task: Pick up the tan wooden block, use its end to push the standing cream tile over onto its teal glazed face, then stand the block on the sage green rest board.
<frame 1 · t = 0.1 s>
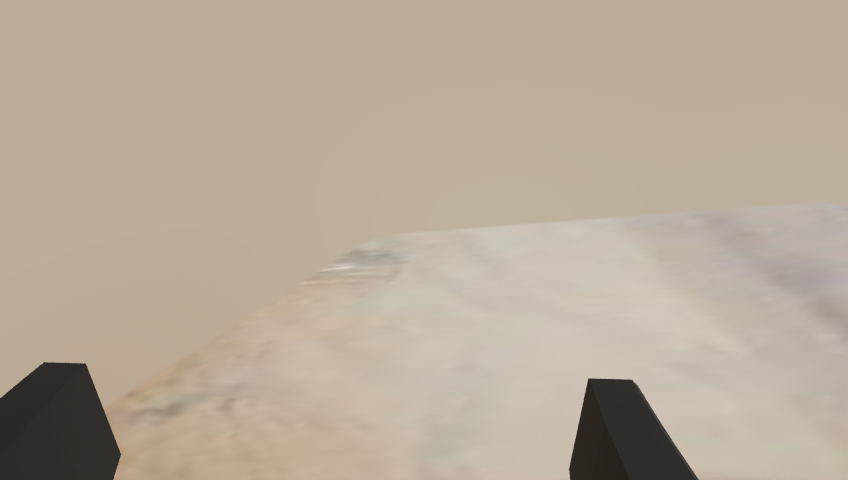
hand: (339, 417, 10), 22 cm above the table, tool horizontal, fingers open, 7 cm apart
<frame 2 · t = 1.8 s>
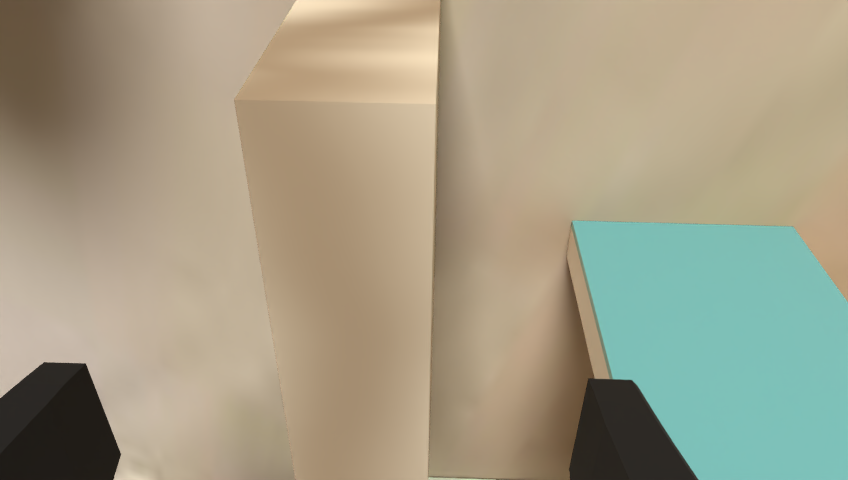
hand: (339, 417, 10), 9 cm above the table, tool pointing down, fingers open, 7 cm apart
tile: (677, 241, 19), on the table
tan wooden block: (388, 136, 18), on the table
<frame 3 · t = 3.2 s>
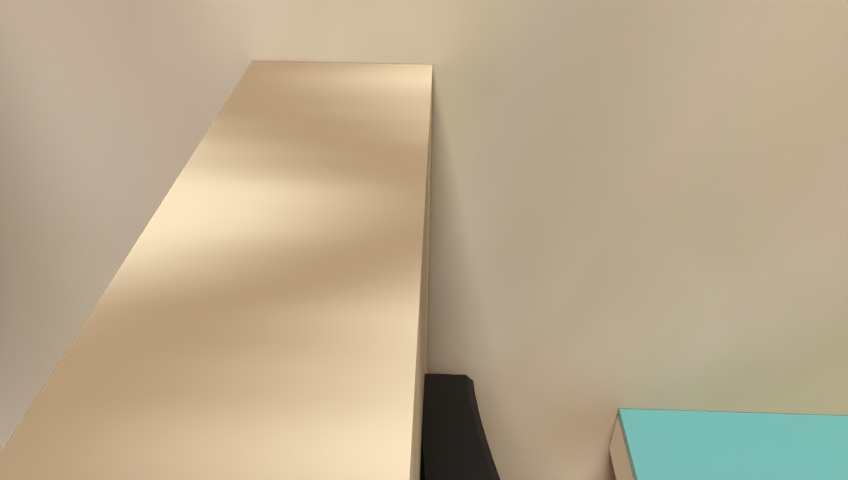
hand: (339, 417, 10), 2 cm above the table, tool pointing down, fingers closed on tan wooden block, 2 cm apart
tile: (765, 433, 14), on the table
tan wooden block: (357, 309, 12), on the table, touching gripper
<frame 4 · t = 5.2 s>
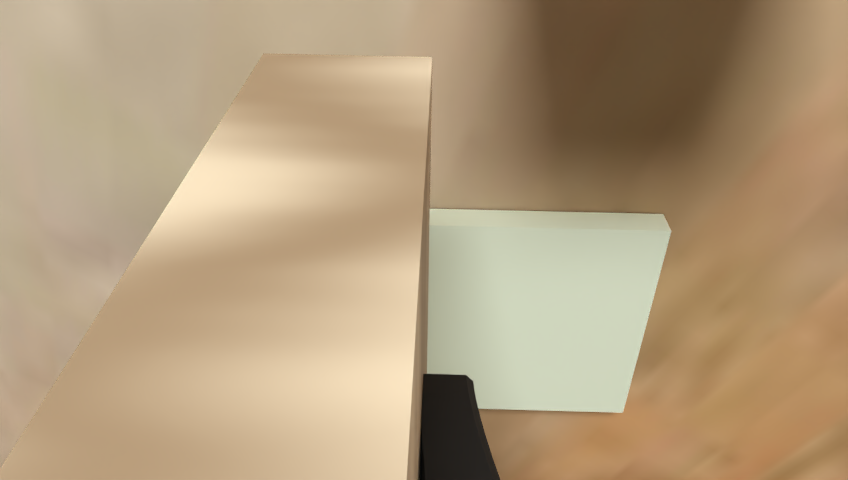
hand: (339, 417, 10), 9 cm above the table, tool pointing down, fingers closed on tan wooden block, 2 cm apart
rest board: (436, 307, 20), on the table
tan wooden block: (360, 291, 13), point 6 cm above the table, touching gripper
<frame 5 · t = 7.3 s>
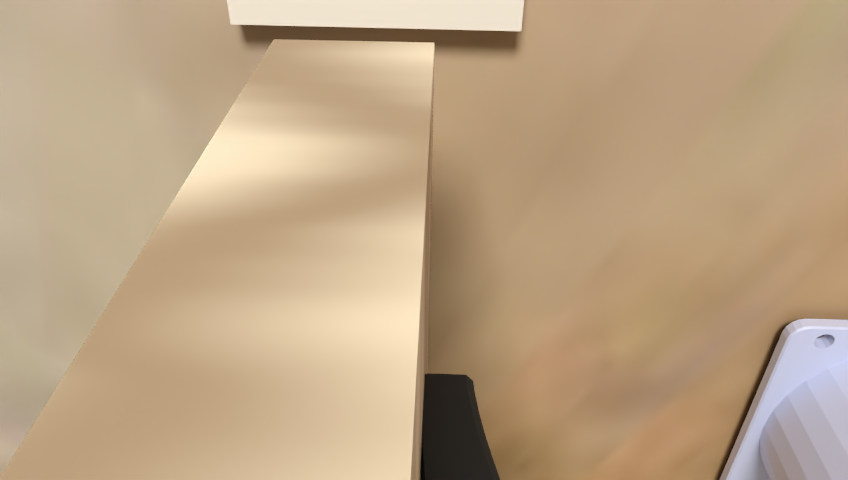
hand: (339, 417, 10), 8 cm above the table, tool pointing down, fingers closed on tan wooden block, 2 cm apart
tile: (377, 18, 15), on the table, tilted 90°
tan wooden block: (365, 270, 13), point 4 cm above the table, touching gripper
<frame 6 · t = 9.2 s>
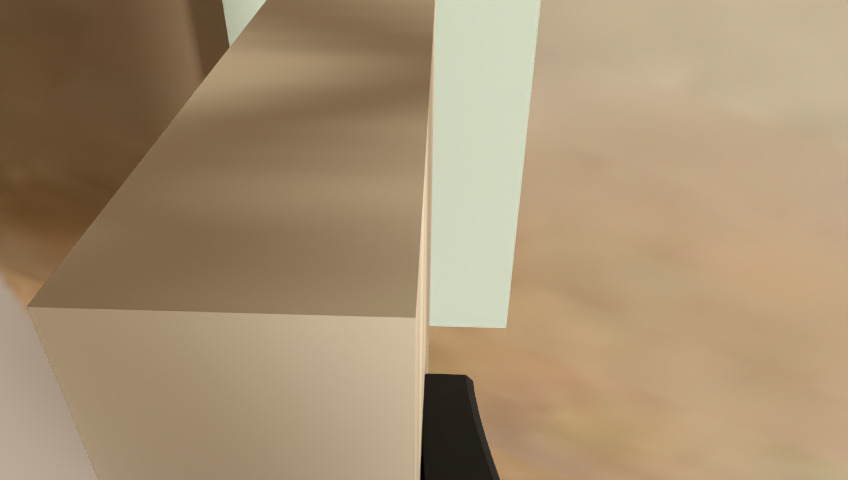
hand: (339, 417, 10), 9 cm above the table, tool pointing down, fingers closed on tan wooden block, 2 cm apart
rest board: (386, 131, 18), on the table
tan wooden block: (367, 220, 14), point 5 cm above the table, touching gripper
when the fingers open (5 cm above the table, at t = 10.3 s): tan wooden block stays where it is, resting on rest board.
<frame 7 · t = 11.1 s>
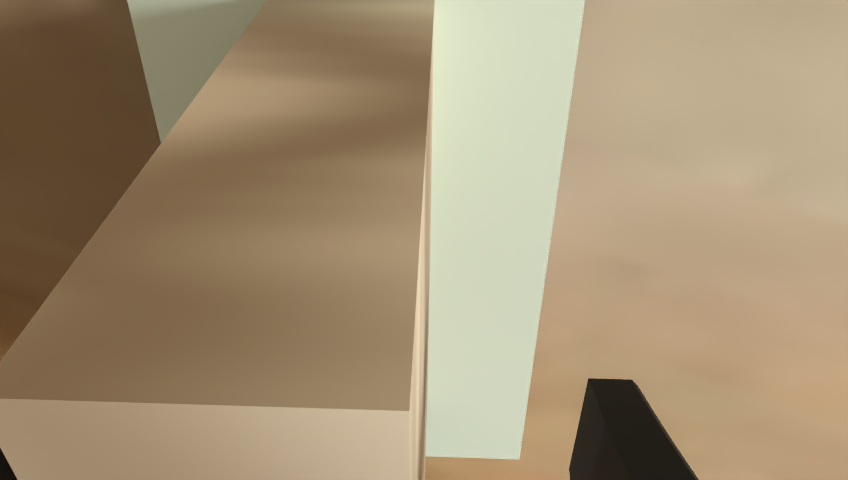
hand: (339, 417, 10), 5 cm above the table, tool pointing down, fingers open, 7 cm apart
rest board: (370, 234, 14), on the table
tan wooden block: (364, 238, 13), point 1 cm above the table, touching rest board
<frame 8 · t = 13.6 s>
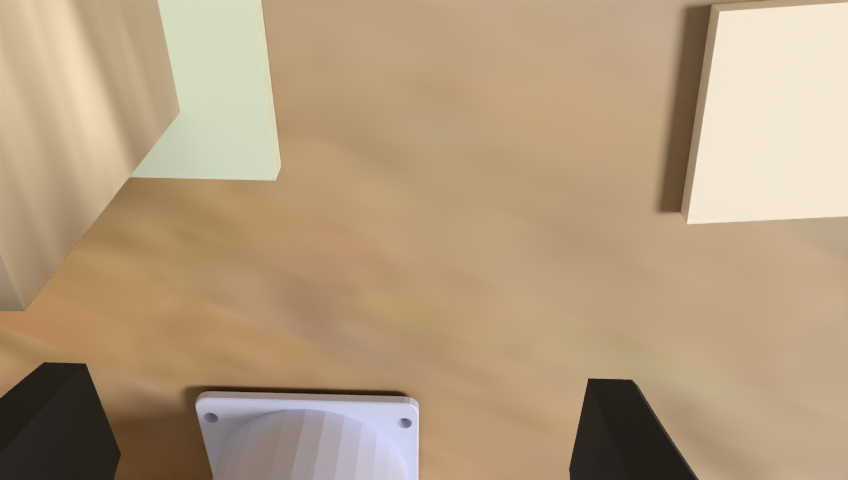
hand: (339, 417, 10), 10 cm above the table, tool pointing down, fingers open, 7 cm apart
tile: (695, 118, 18), on the table, tilted 89°
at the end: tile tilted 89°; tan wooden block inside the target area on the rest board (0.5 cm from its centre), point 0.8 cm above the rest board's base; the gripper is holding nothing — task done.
